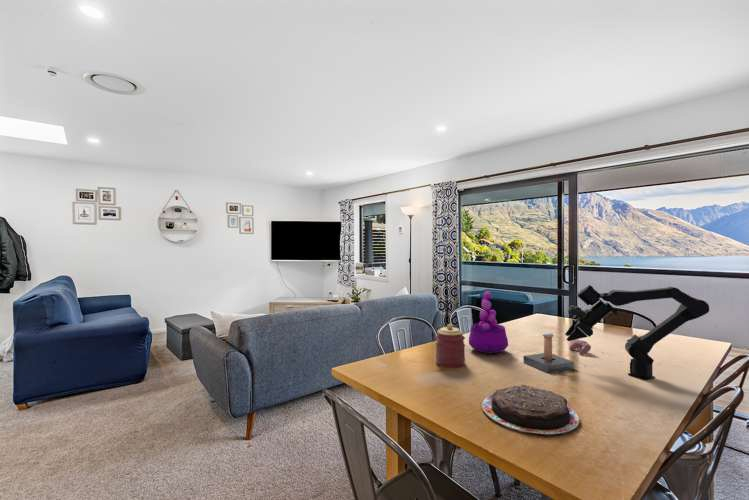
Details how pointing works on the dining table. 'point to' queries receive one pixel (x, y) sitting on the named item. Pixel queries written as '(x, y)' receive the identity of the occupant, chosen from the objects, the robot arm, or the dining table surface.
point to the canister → (450, 347)
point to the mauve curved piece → (580, 344)
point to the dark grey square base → (548, 363)
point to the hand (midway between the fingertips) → (566, 337)
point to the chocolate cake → (530, 410)
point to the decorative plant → (488, 330)
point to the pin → (548, 346)
